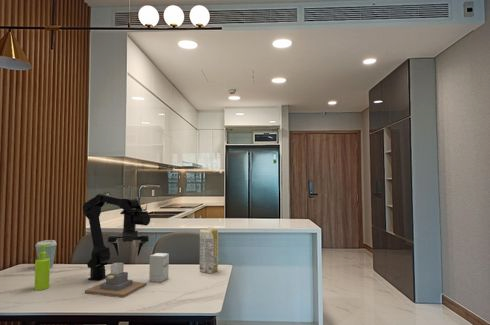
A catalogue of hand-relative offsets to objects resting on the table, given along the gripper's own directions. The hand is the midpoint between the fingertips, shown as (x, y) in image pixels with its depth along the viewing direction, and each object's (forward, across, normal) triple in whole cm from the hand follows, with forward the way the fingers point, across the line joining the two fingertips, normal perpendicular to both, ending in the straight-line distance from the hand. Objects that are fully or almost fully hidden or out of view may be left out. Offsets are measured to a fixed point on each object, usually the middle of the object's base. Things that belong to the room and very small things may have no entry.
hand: (128, 255), depth 171 cm
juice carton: (+12, +42, +12) cm, 45 cm away
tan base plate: (+13, -4, -9) cm, 16 cm away
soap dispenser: (+14, -37, +1) cm, 40 cm away
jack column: (+11, -4, -9) cm, 15 cm away
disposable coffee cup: (+15, -47, +41) cm, 65 cm away
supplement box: (+13, +15, +2) cm, 20 cm away
